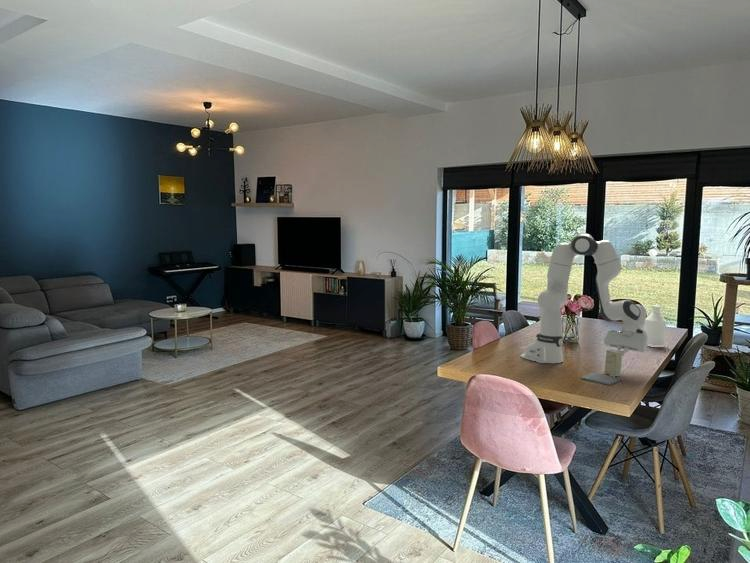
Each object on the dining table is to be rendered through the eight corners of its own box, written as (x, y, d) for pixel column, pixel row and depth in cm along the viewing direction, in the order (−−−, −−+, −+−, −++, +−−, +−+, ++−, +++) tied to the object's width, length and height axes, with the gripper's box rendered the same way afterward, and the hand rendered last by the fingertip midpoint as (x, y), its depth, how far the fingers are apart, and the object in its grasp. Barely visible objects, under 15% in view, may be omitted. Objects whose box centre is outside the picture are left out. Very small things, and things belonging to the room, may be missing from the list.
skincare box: (604, 373, 266) (605, 349, 265) (610, 373, 268) (612, 349, 267) (614, 377, 261) (616, 352, 259) (621, 376, 262) (622, 351, 261)
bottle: (659, 344, 339) (662, 304, 336) (667, 348, 327) (670, 307, 324) (639, 343, 340) (642, 304, 337) (647, 347, 328) (650, 306, 325)
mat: (580, 378, 257) (580, 377, 257) (593, 373, 266) (594, 372, 266) (609, 385, 246) (609, 383, 246) (622, 380, 256) (622, 378, 256)
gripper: (607, 326, 280) (597, 347, 274) (648, 332, 265) (639, 354, 259) (610, 333, 283) (601, 354, 277) (651, 339, 268) (642, 362, 262)
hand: (620, 354), depth 268 cm, fingers closed
